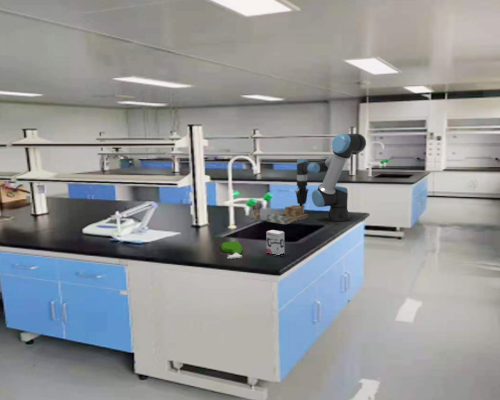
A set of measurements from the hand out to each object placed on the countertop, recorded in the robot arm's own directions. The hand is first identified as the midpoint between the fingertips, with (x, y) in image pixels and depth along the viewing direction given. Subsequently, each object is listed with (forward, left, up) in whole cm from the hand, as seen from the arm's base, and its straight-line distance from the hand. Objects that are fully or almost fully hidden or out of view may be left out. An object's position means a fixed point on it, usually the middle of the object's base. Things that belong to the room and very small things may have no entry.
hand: (301, 212), depth 329 cm
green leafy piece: (-28, +101, -3) cm, 105 cm away
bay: (0, +16, -2) cm, 16 cm away
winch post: (+16, +31, -2) cm, 35 cm away
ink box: (-47, +89, -3) cm, 101 cm away
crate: (0, +9, -3) cm, 10 cm away
